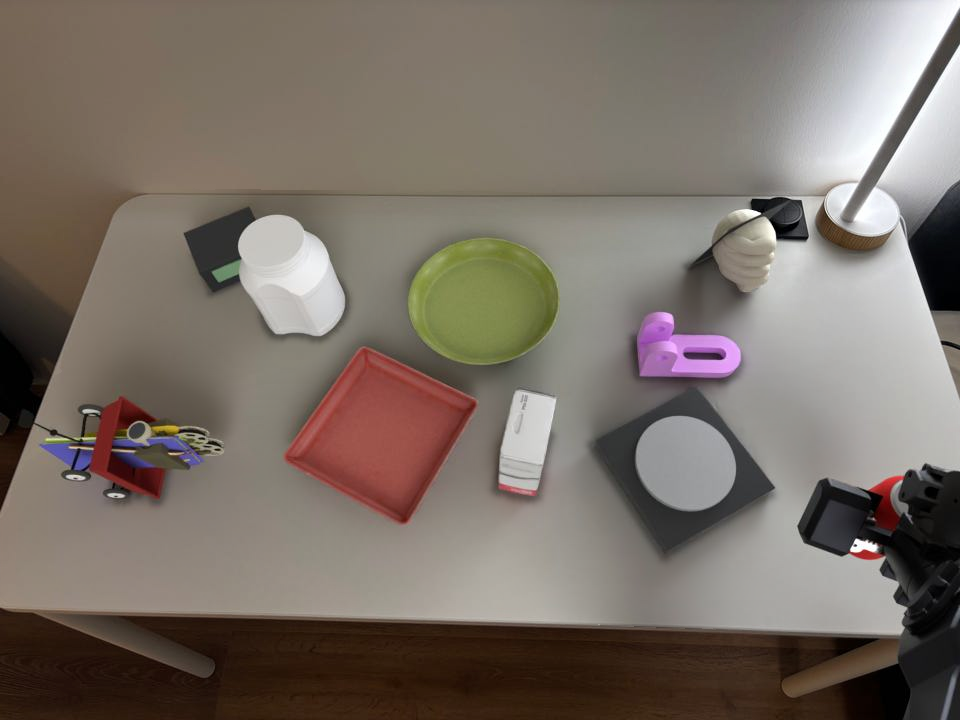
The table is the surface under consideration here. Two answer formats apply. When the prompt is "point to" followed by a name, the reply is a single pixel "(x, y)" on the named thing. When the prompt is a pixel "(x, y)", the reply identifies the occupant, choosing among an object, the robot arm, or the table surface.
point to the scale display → (219, 248)
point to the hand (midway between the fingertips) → (890, 504)
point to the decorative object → (744, 247)
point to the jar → (290, 277)
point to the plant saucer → (382, 434)
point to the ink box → (525, 441)
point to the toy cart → (127, 448)
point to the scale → (682, 468)
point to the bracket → (681, 351)
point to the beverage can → (886, 510)
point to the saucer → (483, 301)
